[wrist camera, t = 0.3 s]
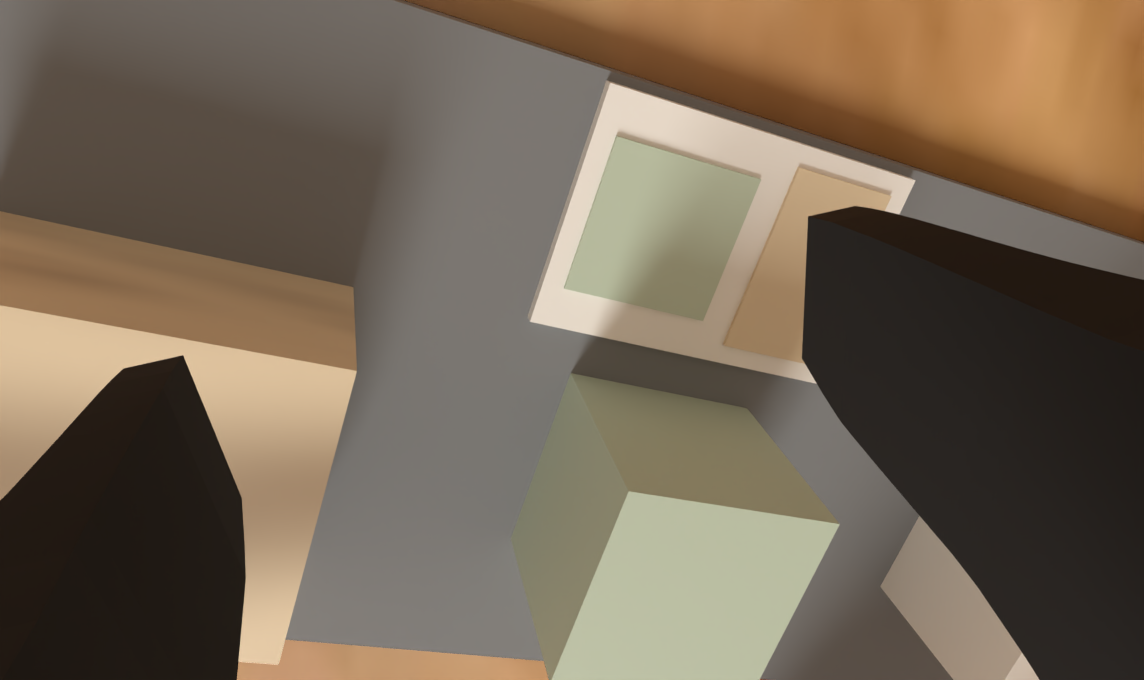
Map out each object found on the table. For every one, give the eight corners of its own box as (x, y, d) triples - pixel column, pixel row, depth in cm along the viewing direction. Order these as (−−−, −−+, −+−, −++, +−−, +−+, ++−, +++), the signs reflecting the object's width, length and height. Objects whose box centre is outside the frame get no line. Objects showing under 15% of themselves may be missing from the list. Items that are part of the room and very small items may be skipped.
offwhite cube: (1004, 602, 30) (1120, 726, 25) (880, 586, 28) (981, 715, 23) (1083, 475, 28) (1223, 583, 23) (955, 449, 26) (1080, 561, 22)
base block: (287, 543, 22) (278, 664, 19) (-40, 505, 20) (-119, 635, 16) (352, 287, 20) (356, 371, 16) (-11, 208, 18) (-98, 286, 14)
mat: (956, 678, 32) (970, 696, 31) (-62, 586, 22) (-75, 610, 21) (1212, 264, 26) (1236, 274, 26) (3, -131, 16) (-13, -132, 15)
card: (813, 378, 24) (820, 386, 23) (527, 316, 21) (530, 323, 21) (908, 177, 22) (918, 181, 22) (606, 80, 19) (611, 83, 19)
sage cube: (678, 560, 25) (749, 698, 21) (510, 538, 24) (550, 683, 19) (746, 408, 24) (839, 524, 19) (570, 372, 22) (628, 491, 18)
